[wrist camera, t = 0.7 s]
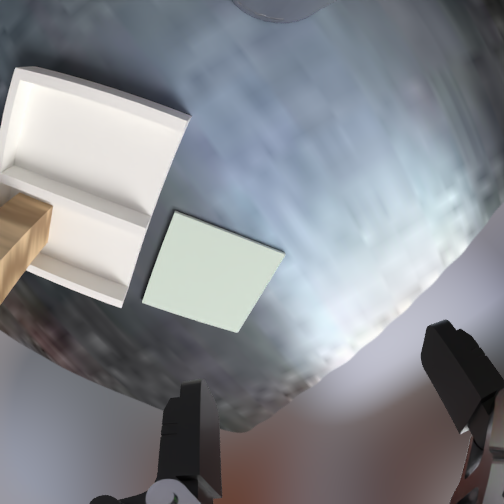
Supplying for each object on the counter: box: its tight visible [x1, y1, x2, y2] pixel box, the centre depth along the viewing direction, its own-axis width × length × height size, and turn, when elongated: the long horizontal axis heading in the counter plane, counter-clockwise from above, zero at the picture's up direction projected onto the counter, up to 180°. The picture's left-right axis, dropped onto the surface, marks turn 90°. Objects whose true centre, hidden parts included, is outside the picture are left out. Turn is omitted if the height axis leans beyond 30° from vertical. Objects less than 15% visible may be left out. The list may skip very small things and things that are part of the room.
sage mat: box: [142, 211, 285, 333], centre depth 35 cm, size 12×12×1 cm
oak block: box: [0, 192, 53, 305], centre depth 24 cm, size 4×4×11 cm
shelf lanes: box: [0, 66, 191, 308], centre depth 27 cm, size 20×17×4 cm
